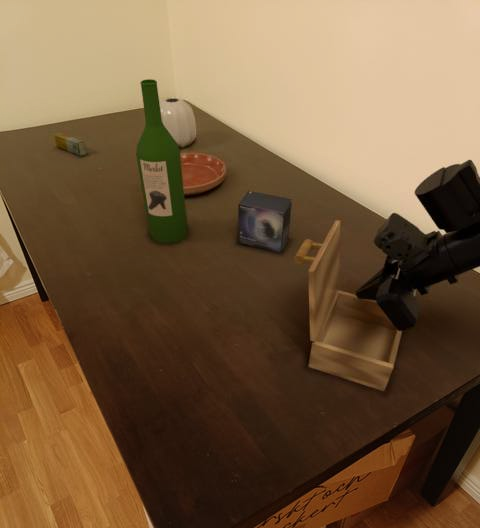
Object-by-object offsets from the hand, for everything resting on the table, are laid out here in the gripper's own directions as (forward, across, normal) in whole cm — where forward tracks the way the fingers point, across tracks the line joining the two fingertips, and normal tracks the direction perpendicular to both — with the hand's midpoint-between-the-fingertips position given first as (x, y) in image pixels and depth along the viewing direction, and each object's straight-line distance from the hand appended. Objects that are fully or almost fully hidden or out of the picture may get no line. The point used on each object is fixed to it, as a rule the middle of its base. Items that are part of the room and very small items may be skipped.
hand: (357, 295), depth 67 cm
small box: (+26, -24, -10) cm, 37 cm away
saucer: (+48, -44, -32) cm, 73 cm away
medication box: (+79, -48, -63) cm, 112 cm away
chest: (+7, 0, +10) cm, 12 cm away
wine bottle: (+41, -19, -25) cm, 52 cm away
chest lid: (+3, 0, -4) cm, 5 cm away
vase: (+59, -66, -43) cm, 99 cm away
